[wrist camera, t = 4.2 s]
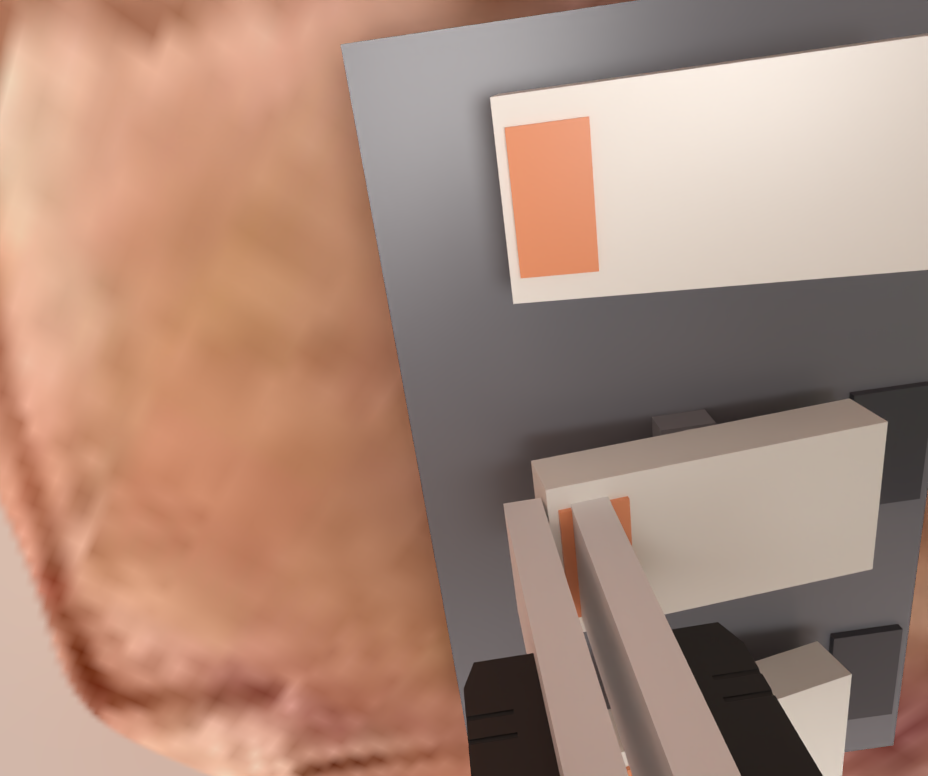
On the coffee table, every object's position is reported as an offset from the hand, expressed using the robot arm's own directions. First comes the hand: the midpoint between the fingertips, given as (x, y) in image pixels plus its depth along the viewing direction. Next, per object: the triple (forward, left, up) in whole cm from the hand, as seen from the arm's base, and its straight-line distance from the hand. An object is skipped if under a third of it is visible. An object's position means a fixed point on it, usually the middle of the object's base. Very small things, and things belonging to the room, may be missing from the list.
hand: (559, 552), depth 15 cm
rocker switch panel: (-3, 0, -6) cm, 7 cm away
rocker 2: (-3, 0, -1) cm, 3 cm away
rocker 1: (-3, -7, -1) cm, 8 cm away
